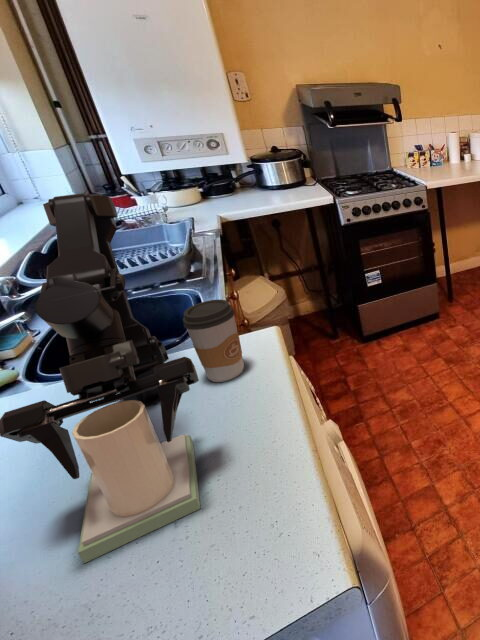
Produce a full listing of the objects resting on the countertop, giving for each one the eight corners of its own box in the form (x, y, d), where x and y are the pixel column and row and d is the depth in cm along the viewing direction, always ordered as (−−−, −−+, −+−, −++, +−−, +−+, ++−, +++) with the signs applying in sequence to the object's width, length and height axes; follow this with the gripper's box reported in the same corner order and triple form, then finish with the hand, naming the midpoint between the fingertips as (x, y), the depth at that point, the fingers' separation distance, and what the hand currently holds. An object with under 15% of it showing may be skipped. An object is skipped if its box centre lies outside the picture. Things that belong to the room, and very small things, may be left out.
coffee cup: (228, 388, 84) (206, 320, 79) (192, 383, 86) (168, 317, 81) (259, 363, 92) (241, 299, 86) (225, 359, 94) (206, 296, 88)
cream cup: (148, 469, 63) (116, 396, 58) (186, 477, 62) (157, 404, 57) (97, 511, 57) (57, 434, 52) (138, 521, 56) (101, 443, 51)
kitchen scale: (96, 480, 65) (89, 466, 64) (193, 442, 72) (188, 428, 71) (84, 563, 54) (75, 548, 53) (200, 508, 60) (194, 493, 59)
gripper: (-36, 357, 48) (-16, 498, 44) (172, 305, 59) (203, 414, 55) (11, 381, 57) (32, 501, 53) (185, 332, 67) (213, 428, 63)
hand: (124, 459), depth 56 cm, fingers open, 9 cm apart
